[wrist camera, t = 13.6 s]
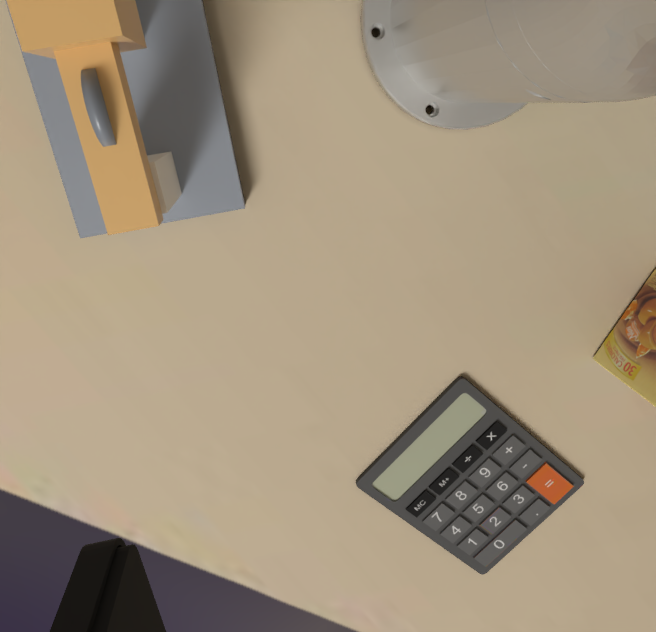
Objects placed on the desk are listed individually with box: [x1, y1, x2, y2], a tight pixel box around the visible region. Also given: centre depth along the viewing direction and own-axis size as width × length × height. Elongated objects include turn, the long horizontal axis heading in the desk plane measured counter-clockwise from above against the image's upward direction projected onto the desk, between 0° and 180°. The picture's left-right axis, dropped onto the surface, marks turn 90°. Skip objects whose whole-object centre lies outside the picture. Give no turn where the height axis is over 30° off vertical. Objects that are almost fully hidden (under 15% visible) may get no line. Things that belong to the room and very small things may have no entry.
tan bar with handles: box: [6, 0, 164, 235], centre depth 26 cm, size 4×20×6 cm, turn 9°
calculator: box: [356, 377, 584, 574], centre depth 47 cm, size 12×1×15 cm
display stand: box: [5, 0, 245, 238], centre depth 30 cm, size 10×23×8 cm, turn 9°
